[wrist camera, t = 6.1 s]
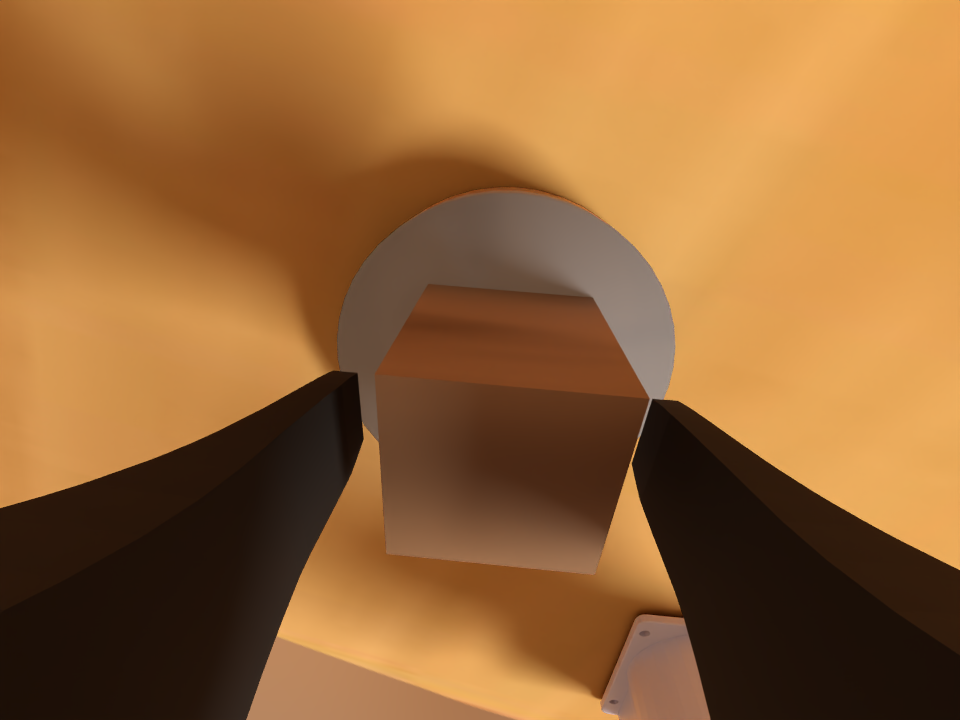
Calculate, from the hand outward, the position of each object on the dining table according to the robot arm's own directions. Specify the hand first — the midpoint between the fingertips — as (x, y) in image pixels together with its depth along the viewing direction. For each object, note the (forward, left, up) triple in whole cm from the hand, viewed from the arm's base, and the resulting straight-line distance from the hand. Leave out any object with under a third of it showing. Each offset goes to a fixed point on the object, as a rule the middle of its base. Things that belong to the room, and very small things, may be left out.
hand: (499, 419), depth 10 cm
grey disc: (0, 0, -4) cm, 4 cm away
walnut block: (0, 0, -2) cm, 2 cm away
